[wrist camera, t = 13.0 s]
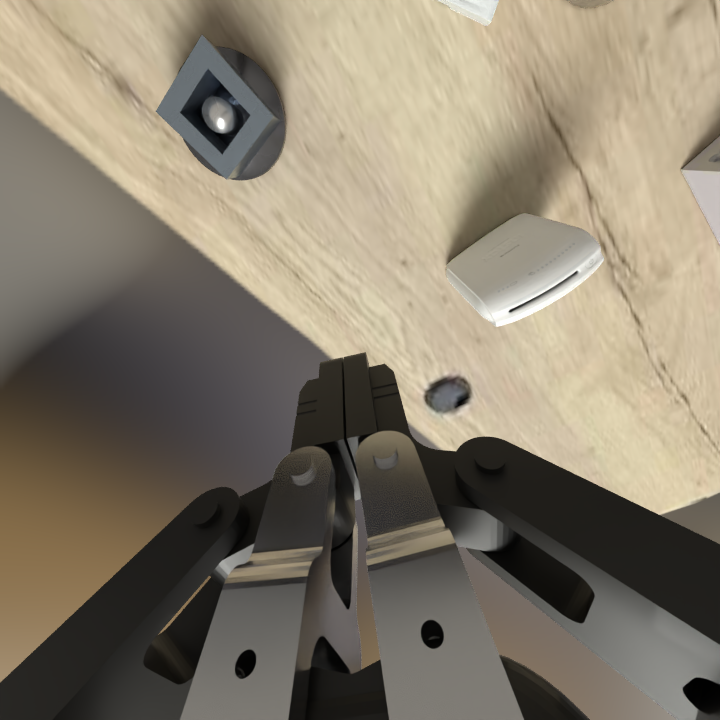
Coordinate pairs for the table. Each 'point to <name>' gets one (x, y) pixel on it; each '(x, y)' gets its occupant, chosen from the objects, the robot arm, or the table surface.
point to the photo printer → (523, 267)
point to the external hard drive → (474, 9)
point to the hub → (243, 116)
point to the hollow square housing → (187, 101)
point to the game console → (707, 183)
